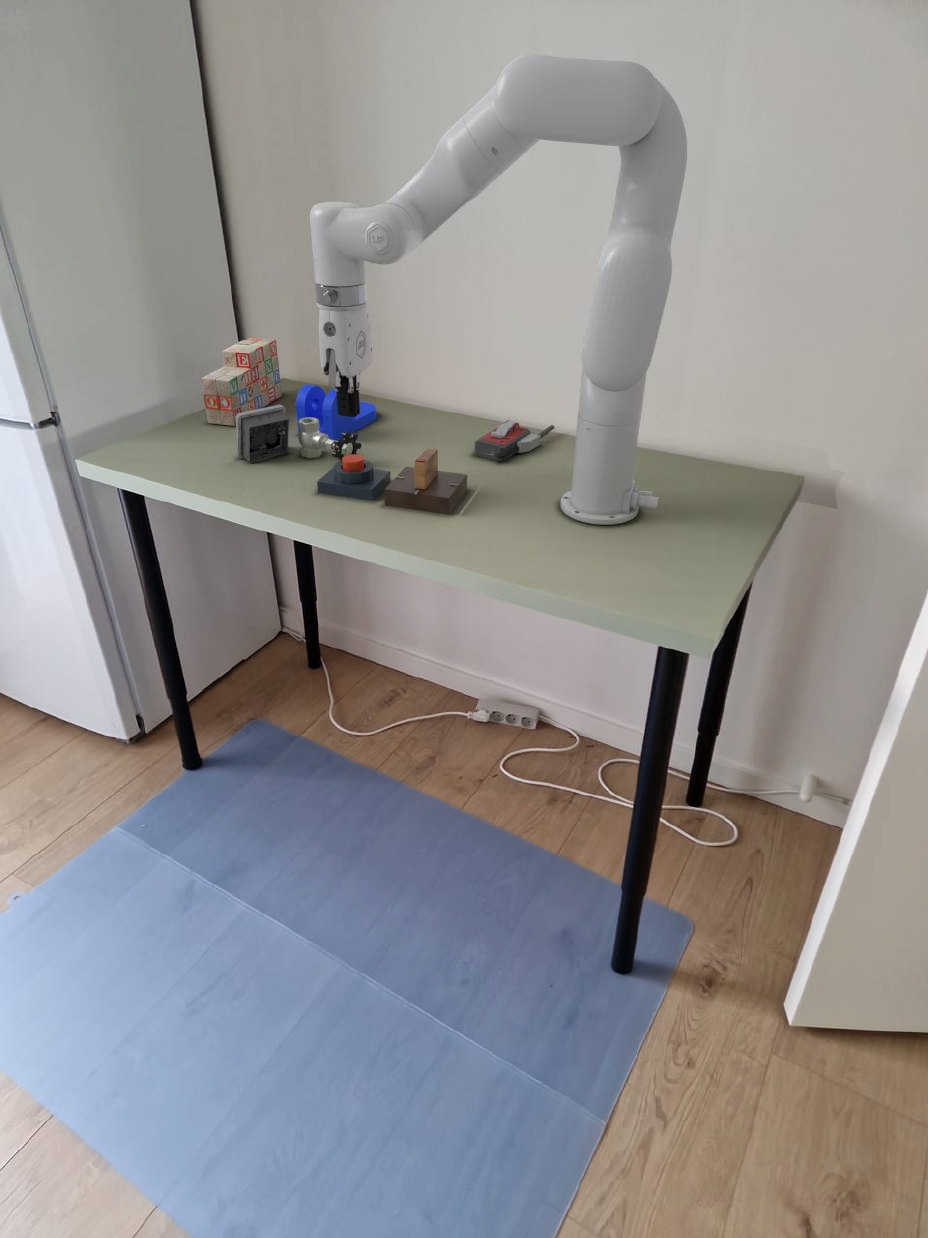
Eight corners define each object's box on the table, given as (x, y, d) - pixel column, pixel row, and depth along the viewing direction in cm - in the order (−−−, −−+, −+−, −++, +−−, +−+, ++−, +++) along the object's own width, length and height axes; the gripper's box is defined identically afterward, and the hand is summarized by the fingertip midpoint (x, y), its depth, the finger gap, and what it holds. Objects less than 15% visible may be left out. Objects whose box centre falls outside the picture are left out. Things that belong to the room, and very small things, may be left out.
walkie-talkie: (510, 467, 147) (557, 434, 161) (511, 444, 144) (559, 412, 159) (468, 457, 150) (518, 426, 165) (468, 434, 148) (519, 404, 162)
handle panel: (467, 490, 138) (467, 472, 136) (448, 516, 130) (448, 498, 128) (407, 481, 141) (406, 464, 139) (384, 506, 132) (383, 488, 130)
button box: (390, 482, 140) (389, 461, 138) (373, 501, 134) (371, 478, 132) (337, 475, 143) (336, 454, 141) (317, 493, 136) (315, 471, 134)
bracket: (333, 442, 156) (330, 396, 151) (298, 435, 159) (294, 389, 154) (383, 415, 170) (381, 372, 165) (350, 408, 173) (347, 366, 168)
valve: (290, 457, 150) (336, 473, 143) (286, 422, 146) (334, 437, 140) (317, 447, 154) (362, 462, 148) (313, 413, 150) (360, 427, 144)
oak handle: (427, 473, 136) (427, 446, 134) (438, 474, 136) (437, 447, 133) (414, 488, 131) (413, 460, 128) (425, 489, 131) (424, 461, 128)
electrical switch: (282, 447, 154) (279, 400, 148) (295, 457, 151) (292, 410, 145) (236, 458, 149) (230, 410, 143) (248, 469, 146) (243, 421, 140)
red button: (367, 465, 137) (367, 455, 136) (359, 473, 134) (358, 463, 133) (348, 462, 138) (347, 453, 137) (339, 470, 135) (338, 460, 134)
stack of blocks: (235, 427, 163) (226, 365, 156) (207, 424, 164) (197, 362, 157) (282, 395, 180) (276, 338, 173) (257, 392, 181) (249, 335, 175)
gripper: (343, 307, 114) (351, 432, 124) (383, 287, 126) (387, 403, 136) (295, 303, 116) (307, 427, 126) (339, 283, 128) (346, 398, 138)
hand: (349, 414), depth 131 cm, fingers closed
